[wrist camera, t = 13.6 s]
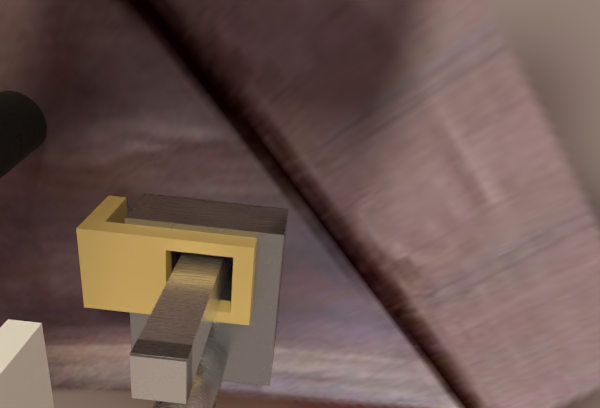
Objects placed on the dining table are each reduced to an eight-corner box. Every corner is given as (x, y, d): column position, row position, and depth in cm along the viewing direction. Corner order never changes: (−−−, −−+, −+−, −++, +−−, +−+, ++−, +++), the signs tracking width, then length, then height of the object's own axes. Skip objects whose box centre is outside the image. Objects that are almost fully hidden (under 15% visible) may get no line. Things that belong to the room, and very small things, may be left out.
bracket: (108, 195, 42) (76, 228, 36) (263, 212, 42) (254, 248, 36) (113, 266, 45) (84, 307, 39) (258, 282, 45) (249, 325, 39)
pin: (196, 225, 42) (129, 355, 28) (234, 229, 42) (186, 361, 28) (195, 257, 44) (131, 398, 29) (232, 261, 44) (186, 404, 29)
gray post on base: (144, 193, 41) (26, 336, 25) (288, 209, 41) (263, 362, 25) (149, 336, 48) (57, 525, 31) (274, 350, 48) (247, 546, 31)
